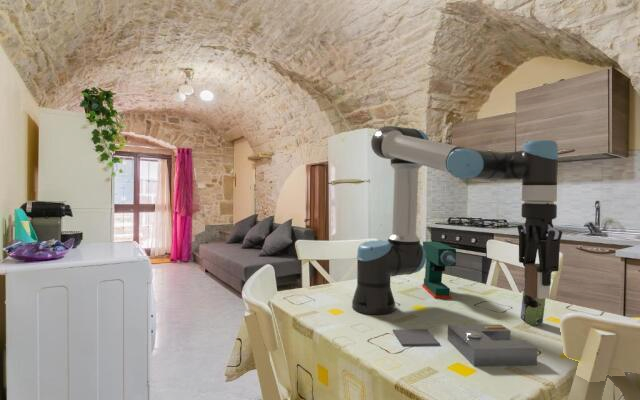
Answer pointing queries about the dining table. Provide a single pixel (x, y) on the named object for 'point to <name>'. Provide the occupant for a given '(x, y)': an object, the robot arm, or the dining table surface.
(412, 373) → the dining table surface
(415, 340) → the mat
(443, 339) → the dining table surface
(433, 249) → the power tool
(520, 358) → the peg insertion board
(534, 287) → the wooden block
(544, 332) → the dining table surface
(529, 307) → the beverage can
